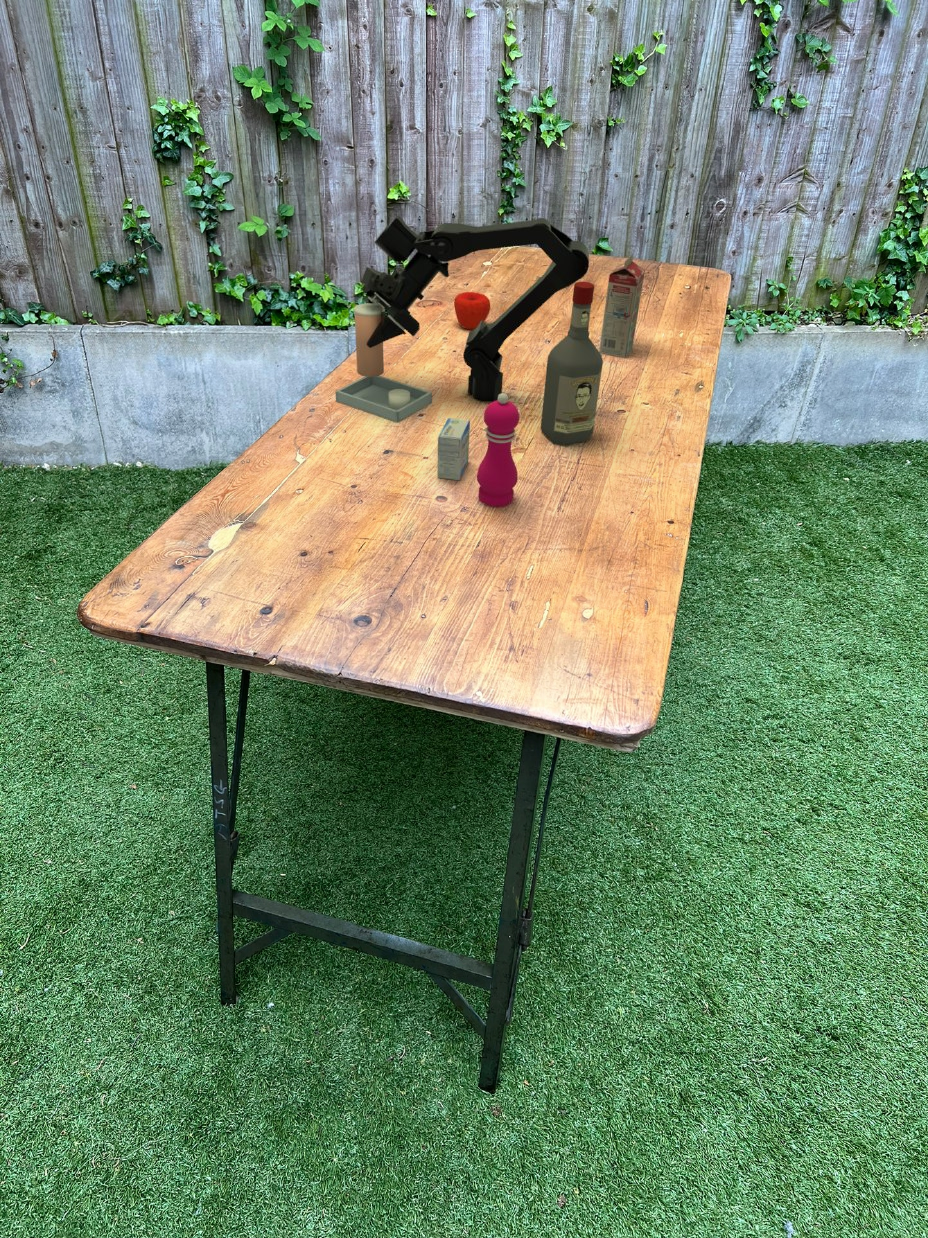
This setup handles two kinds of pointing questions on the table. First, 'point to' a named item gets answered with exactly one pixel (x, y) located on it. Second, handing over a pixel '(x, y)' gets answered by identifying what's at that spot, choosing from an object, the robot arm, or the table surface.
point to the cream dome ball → (398, 398)
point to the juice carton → (621, 309)
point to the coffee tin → (365, 325)
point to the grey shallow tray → (382, 397)
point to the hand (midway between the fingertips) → (363, 341)
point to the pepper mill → (498, 454)
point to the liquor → (573, 378)
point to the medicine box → (453, 449)
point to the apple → (471, 309)
